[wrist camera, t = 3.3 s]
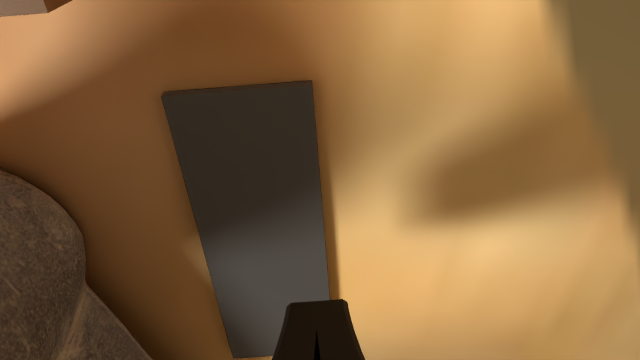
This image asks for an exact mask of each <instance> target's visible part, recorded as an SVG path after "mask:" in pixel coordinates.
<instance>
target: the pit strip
mask: <svg viewBox="0 0 640 360" xmlns="http://www.w3.org/2000/svg"><path fill="white" fill-rule="evenodd" d="M161 98H162V101H163V105H164V109H165V112H166V116H167V120H168V123H169V127H170V130H171V134H172V138H173V141H174V145H175V149H176V152H177V156H178V160H179V163H180V167H181V170H182V174H183V178H184V181H185V185H186V189H187V192H188V196H189V200H190V203H191V207H192V210H193V214H194V218H195V221H196V225H197V229H198V232H199V236H200V240H201V243H202V247H203V250H204V254H205V258H206V261H207V265H208V269H209V272H210V276H211V280H212V283H213V287H214V290H215V294H216V298H217V301H218V305H219V309H220V312H221V316H222V320H223V323H224V327H225V330H226V334H227V338H228V341H229V345H230V349H231V352H232V356H233V359H235V358H250V357H265V356H273V355H274V352H275V349H276V346H277V343H278V340H279V336H280V333H281V329H282V326H283V322H284V317H285V312H286V307H287V306H288V305H289V304H290V303H294V302H309V301H324V300H330V295H329V283H328V271H327V258H326V246H325V234H324V222H323V210H322V198H321V186H320V173H319V161H318V149H317V137H316V125H315V113H314V100H313V88H312V81H301V82H287V83H274V84H261V85H248V86H235V87H222V88H209V89H196V90H182V91H169V92H164V93H163V95H162V96H161Z"/></svg>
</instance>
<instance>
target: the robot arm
mask: <svg viewBox="0 0 640 360" xmlns="http://www.w3.org/2000/svg"><path fill="white" fill-rule="evenodd" d="M272 360H365V358H364V356H363V353H362V351H361V348H360V345H359V343H358V340H357V337H356V334H355V331H354V328H353V325H352V321H351V317H350V313H349V309H348V303H347V302H346V301H345V300H343V299H339V300H324V301H309V302H294V303H290V304H289V305H288V306H287V307H286V312H285V317H284V322H283V326H282V329H281V333H280V336H279V340H278V343H277V346H276V349H275V352H274V355H273V358H272Z"/></svg>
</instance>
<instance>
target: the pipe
mask: <svg viewBox="0 0 640 360" xmlns="http://www.w3.org/2000/svg"><path fill="white" fill-rule="evenodd" d="M85 272H86V260H85V248H84V240H83V236H82V234H81V232H80V230H79V228H78V226H77V225H76V223H75V221H74V220H73V219H72V218H71V217H70V216H69V214H68V213H67V212H66V211H65V210H64V209H63V207H61V206H60V205H59V204H58V203H57V202H56V201H55V200H53V199H52V198H51V197H50V196H49V195H47V194H46V193H44V192H43V191H41V190H39V189H38V188H36V187H35V186H33V185H32V184H30V183H28V182H26V181H25V180H23V179H21V178H20V177H17V176H15V175H12V174H9V173H7V172H4V171H2V170H0V360H153V359H152V358H151V357H150V356H149V355H148V353H147V352H146V351H145V350H144V349H143V348H142V346H141V345H140V344H139V343H138V341H137V340H136V339H135V338H134V337H133V336H132V334H131V333H130V332H129V331H128V330H127V328H126V327H125V326H124V325H123V324H122V322H121V321H120V320H119V319H118V318H117V317H116V315H115V314H114V313H113V312H112V311H111V310H110V309H109V308H108V307H107V306H106V304H105V303H104V302H103V301H102V300H101V299H100V298H99V297H98V296H97V295H96V294H95V293H94V292H93V290H92V289H91V288H90V287H89V286H88V285H87V283H86V282H85Z"/></svg>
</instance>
